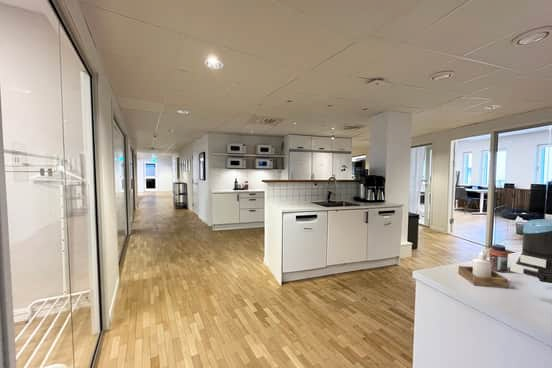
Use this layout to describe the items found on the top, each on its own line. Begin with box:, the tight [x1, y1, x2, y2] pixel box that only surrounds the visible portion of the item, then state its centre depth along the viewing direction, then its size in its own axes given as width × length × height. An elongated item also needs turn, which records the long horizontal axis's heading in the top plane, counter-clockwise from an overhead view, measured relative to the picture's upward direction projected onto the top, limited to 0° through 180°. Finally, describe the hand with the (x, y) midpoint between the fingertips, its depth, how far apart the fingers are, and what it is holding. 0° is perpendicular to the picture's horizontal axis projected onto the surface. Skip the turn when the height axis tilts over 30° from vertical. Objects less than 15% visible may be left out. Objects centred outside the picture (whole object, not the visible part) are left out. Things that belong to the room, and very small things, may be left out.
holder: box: [457, 265, 509, 289], centre depth 95 cm, size 11×11×4 cm
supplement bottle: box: [488, 243, 509, 273], centre depth 105 cm, size 6×6×11 cm
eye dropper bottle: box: [472, 249, 492, 277], centre depth 95 cm, size 4×6×12 cm
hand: (515, 262), depth 87 cm, fingers open, 13 cm apart
